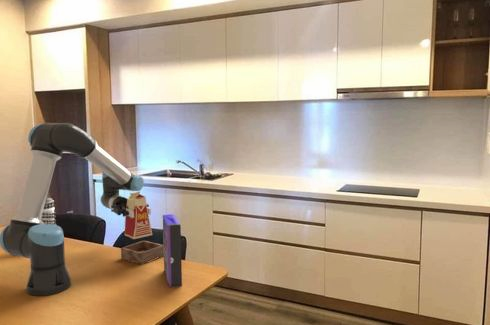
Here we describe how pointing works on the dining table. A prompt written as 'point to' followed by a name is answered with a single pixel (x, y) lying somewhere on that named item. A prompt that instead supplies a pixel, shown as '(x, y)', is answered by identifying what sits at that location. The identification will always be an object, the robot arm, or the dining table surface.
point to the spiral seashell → (48, 212)
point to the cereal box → (172, 250)
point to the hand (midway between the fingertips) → (141, 212)
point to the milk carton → (137, 217)
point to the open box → (142, 252)
